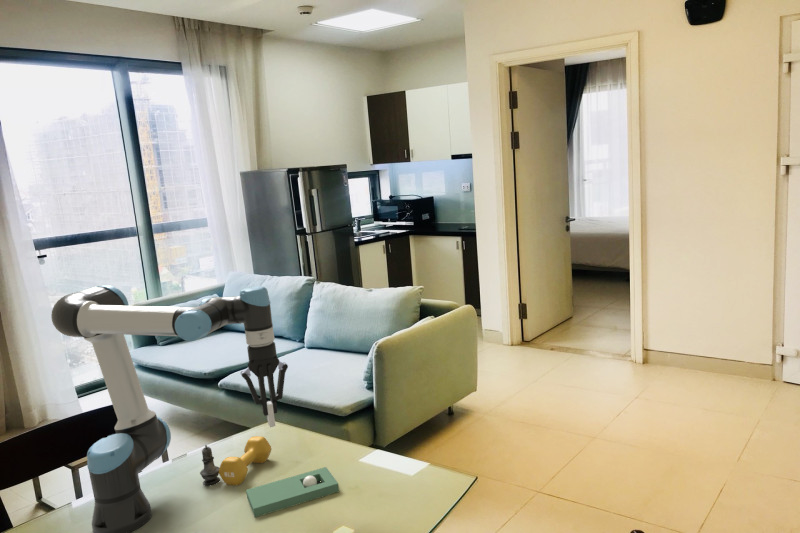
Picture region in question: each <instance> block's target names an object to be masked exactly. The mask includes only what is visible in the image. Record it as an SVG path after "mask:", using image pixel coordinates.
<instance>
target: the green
mask: <svg viewBox="0 0 800 533" xmlns="http://www.w3.org/2000/svg"><path fill="white" fill-rule="evenodd" d="M307 476H314V477H315V478H316V480H317V485H313V486H310V487H306V488H304V486H303V480H304V479H305V477H307ZM320 481H321V482H320ZM338 491H339V492H340V486H339V482H338V481H337V480H336V478H335V477H334V475H333V474H332V472H330V470H329V469H328V467H327V466H324V467H322V468H321V467H320V468H317V469H314V470H310V471H308V472H304V473H300V474H296V475H293V476H290V477H287V478H283V479H279V480H275V481H272V482H268V483H265V484H261V485H258V486H254V487H251V488H248V489H246V490H245V493H246V499H247V501H248V504H249V507H250V509H251V512H252V514H253V516H254V518H257V517H260V516H263V515H267V514H271V513H273V512H276V511H280V510H283V509H286V508H290V507H294V506H296V504H297V505H299V503H300V504H304V503H306V502H305V501H307V502H310V501H312V499H313V500H316V499H315V498H317V499H320V498H323V497H327V496H329V494H330V495H332V493H333V494H335V492H336V493H339V492H338ZM322 496H323V497H322ZM319 497H320V498H319ZM309 500H310V501H309ZM293 505H294V506H293Z"/></svg>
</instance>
